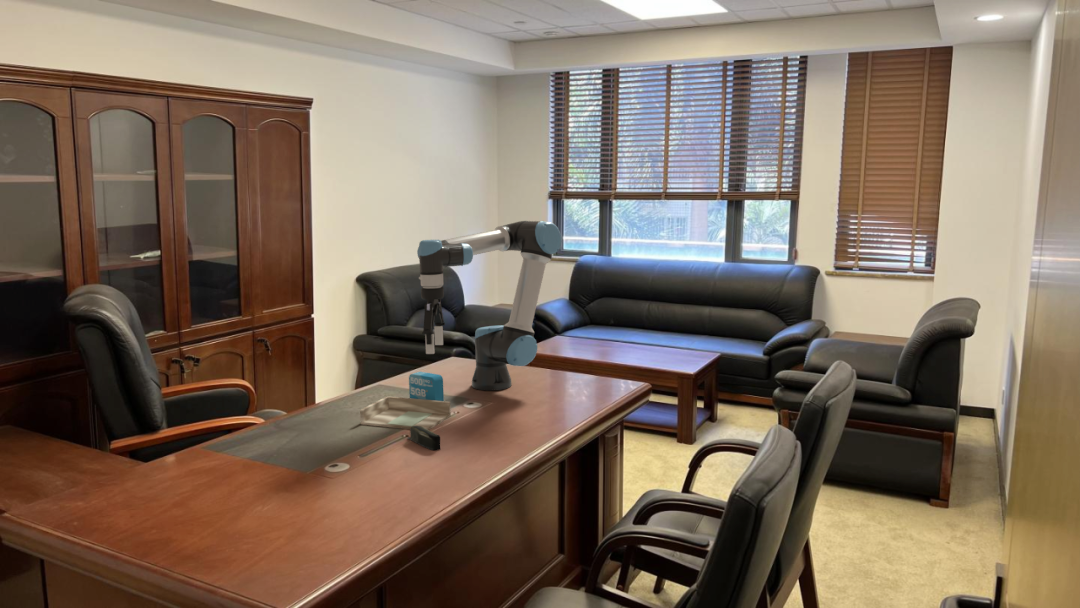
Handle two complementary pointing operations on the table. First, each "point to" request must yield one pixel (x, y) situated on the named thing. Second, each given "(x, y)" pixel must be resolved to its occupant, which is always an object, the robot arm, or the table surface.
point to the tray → (405, 413)
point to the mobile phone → (425, 438)
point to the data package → (426, 386)
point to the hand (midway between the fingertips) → (434, 349)
